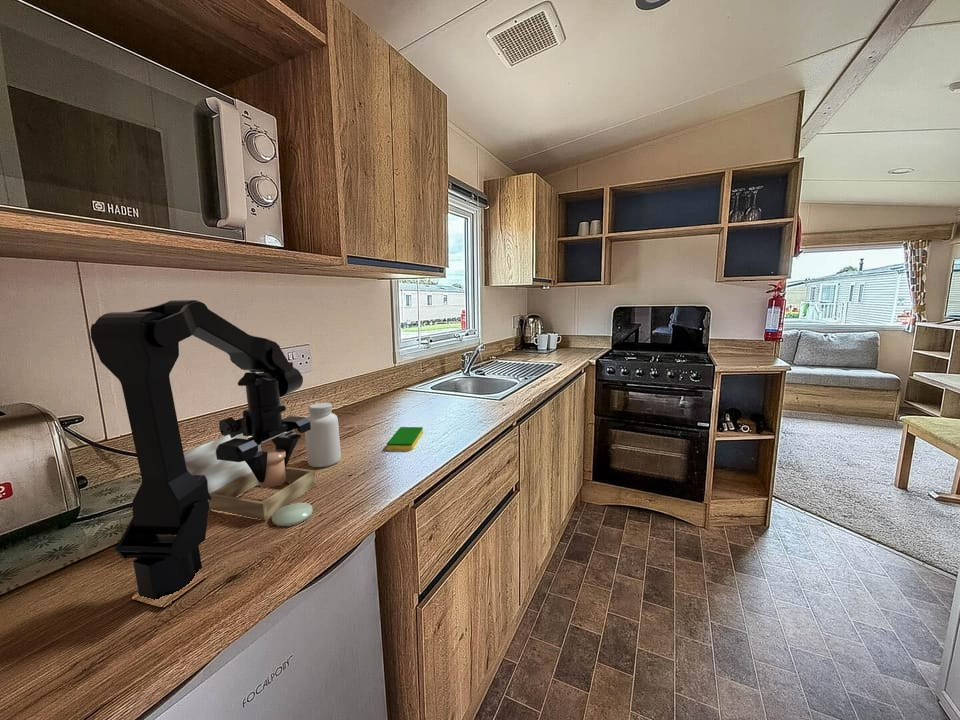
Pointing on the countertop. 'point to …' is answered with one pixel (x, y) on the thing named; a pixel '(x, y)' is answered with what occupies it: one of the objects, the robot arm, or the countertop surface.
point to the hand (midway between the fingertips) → (272, 475)
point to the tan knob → (274, 468)
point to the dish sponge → (405, 438)
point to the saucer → (292, 514)
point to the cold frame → (242, 482)
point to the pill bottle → (322, 436)
